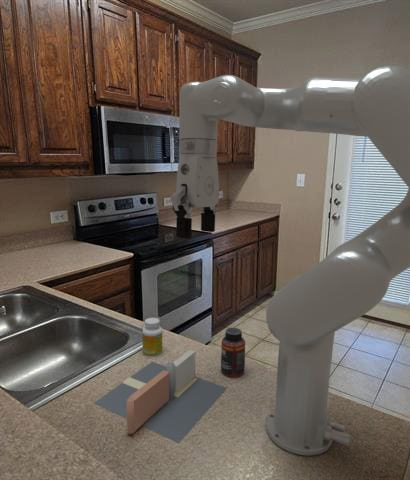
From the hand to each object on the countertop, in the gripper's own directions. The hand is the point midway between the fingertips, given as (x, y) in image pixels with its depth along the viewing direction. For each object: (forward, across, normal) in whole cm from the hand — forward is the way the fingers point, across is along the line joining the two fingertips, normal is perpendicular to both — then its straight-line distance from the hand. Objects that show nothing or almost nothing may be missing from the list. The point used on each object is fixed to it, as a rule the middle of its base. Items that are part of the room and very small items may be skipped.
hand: (196, 234), depth 74 cm
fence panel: (+36, -12, +3) cm, 38 cm away
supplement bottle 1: (+37, +9, +19) cm, 42 cm away
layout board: (+37, -5, +5) cm, 37 cm away
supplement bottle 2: (+37, +12, -4) cm, 39 cm away
